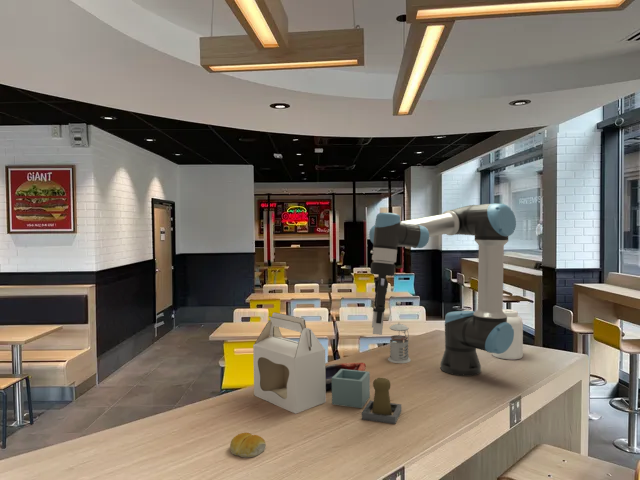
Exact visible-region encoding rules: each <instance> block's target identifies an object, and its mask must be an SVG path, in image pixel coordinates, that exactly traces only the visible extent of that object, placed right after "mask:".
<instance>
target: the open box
mask: <svg viewBox="0 0 640 480" xmlns="http://www.w3.org/2000/svg"><path fill="white" fill-rule="evenodd" d="M370 373H371V372H370V371H366V370H365V371H357V370H348V369H340V370H339V371H338V372H337V373H336V374H335V375H334V376H333V377H332V389H331V405H335V406H341V407H349V408H350V407H351V408H359V409H363V408H364V407H365V406H366V405H365V404H366V403H368V400H369V399H370V397H371V395H370V394H371V390H370V389H371V387H370V386H371V385H370V383H371V381H370V378H371V377H370V375H371V374H370Z"/></svg>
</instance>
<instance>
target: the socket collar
mask: <svg viewBox="0 0 640 480" xmlns="http://www.w3.org/2000/svg"><path fill="white" fill-rule="evenodd" d="M373 402H374V400H369V401H367V404H366V405H365V406H364V407H363V408H364V409H363V410H362V412H361V420H363V421H372V422H379V423H386V424H394V425H396V424H397V421H398V419H399V417H400V415H401V413H402V411H403V410H402V404H401V403H393V402H390V404H391V411H392V412H393V413H392V415H386V414H378V413H372V412H371V411H372V410H373Z"/></svg>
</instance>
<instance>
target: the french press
mask: <svg viewBox="0 0 640 480" xmlns="http://www.w3.org/2000/svg"><path fill="white" fill-rule="evenodd" d="M396 305H402V302H401V301H397V302H396ZM389 329H390V330H391V331H394V332H395V331H396V332H402V333H404V335H402V334H395V335H391V336H390V338H391V339H390V340H389V357H388V358H387V361H389V362H390V363H394V364H395V363H396V364H407V363H410V362H412V361H411V358H410V357H409V341H410V335H409V331H408V330H409V329H410V328H409V327H408V326H407V325H405V324H401V323H395V324H392V325H391V326H389ZM406 332H407V336H406Z"/></svg>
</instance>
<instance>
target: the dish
mask: <svg viewBox="0 0 640 480" xmlns="http://www.w3.org/2000/svg"><path fill="white" fill-rule="evenodd" d="M366 367H367V366H366V363H364V362H342V363H334V364H328V365H325V374H326V391H327V390H332V377H333V376H334V375H335V374H336V373H337V372H338V371H339V370H340V369H348V370H357V371H366Z"/></svg>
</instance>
